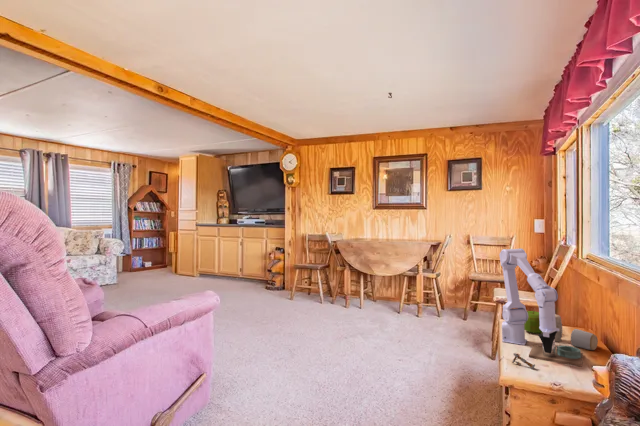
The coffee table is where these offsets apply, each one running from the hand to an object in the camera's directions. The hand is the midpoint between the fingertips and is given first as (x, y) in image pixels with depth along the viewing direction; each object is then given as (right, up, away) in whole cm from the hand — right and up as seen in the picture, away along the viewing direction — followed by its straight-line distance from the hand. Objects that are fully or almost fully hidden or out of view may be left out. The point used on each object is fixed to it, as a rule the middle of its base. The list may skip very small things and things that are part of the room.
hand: (549, 349), depth 149 cm
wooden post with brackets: (-15, -4, -7) cm, 17 cm away
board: (+4, -3, +2) cm, 5 cm away
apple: (+14, -4, +33) cm, 37 cm away
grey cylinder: (+23, -3, +11) cm, 25 cm away
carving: (+16, -4, +21) cm, 26 cm away
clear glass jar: (0, -2, 0) cm, 2 cm away
